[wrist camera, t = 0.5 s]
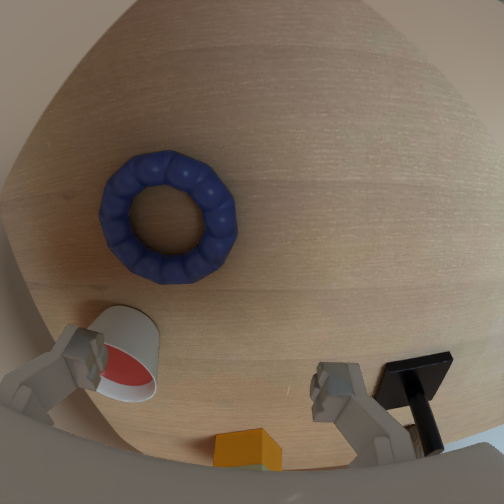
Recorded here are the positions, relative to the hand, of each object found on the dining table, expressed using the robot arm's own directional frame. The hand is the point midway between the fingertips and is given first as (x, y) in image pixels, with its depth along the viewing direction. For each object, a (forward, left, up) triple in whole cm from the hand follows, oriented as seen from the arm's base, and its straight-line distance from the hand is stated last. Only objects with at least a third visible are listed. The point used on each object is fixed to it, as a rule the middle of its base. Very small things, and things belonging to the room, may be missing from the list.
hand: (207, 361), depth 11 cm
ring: (0, -5, -14) cm, 14 cm away
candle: (+12, -13, -15) cm, 23 cm away
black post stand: (+24, +20, -15) cm, 35 cm away
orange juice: (+38, -2, -15) cm, 41 cm away
